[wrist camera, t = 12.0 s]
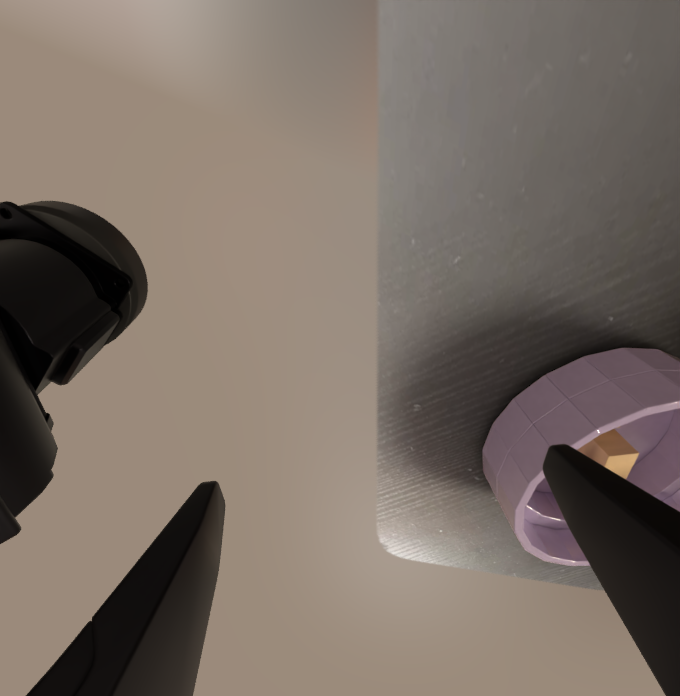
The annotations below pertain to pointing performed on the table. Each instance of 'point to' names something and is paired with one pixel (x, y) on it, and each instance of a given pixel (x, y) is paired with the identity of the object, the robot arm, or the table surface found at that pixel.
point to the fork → (611, 452)
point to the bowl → (584, 438)
